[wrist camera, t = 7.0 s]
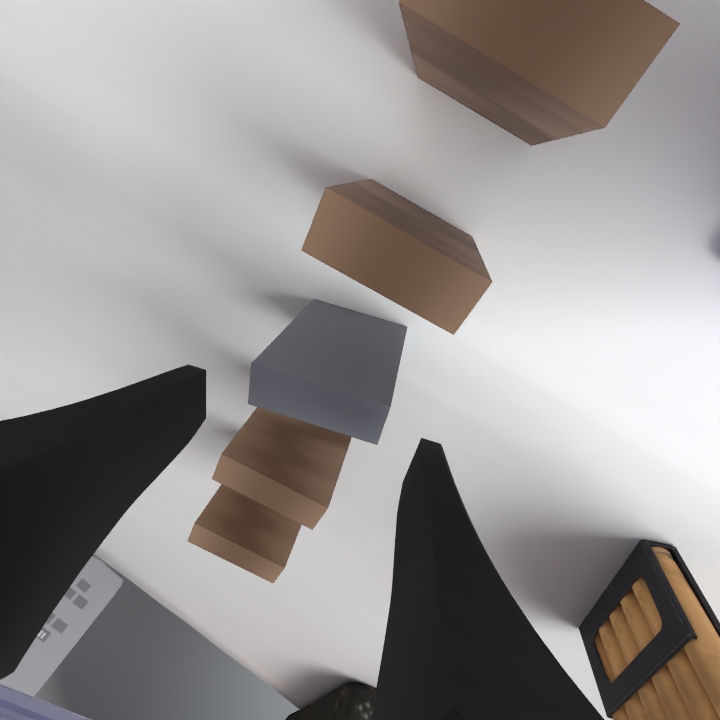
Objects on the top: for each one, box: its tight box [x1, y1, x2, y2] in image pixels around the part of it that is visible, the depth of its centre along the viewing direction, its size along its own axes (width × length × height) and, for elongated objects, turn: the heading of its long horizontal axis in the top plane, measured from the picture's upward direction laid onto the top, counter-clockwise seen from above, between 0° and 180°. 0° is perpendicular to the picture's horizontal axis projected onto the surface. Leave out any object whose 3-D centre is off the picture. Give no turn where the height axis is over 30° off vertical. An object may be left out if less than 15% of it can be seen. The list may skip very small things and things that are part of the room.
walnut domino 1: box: [212, 407, 351, 530], centre depth 18 cm, size 5×2×7 cm, turn 64°
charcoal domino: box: [248, 299, 407, 445], centre depth 16 cm, size 5×2×7 cm, turn 77°
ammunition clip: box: [579, 541, 720, 720], centre depth 19 cm, size 11×2×12 cm, turn 177°
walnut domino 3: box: [302, 179, 492, 335], centre depth 13 cm, size 5×2×7 cm, turn 64°
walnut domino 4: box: [399, 0, 680, 145], centre depth 10 cm, size 5×2×7 cm, turn 64°
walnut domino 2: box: [188, 484, 302, 583], centre depth 21 cm, size 5×2×7 cm, turn 64°
